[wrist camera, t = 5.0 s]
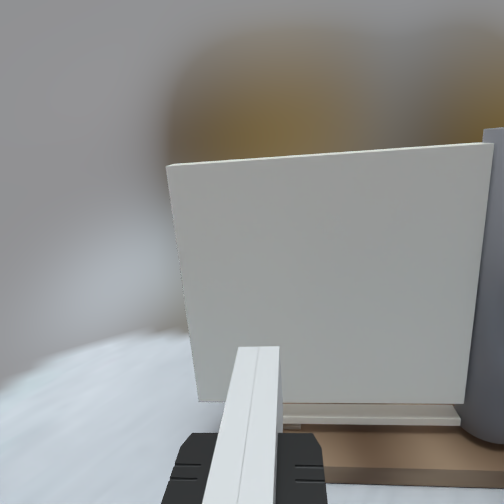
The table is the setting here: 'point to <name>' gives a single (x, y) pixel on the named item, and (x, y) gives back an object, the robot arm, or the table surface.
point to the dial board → (405, 454)
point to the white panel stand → (352, 280)
